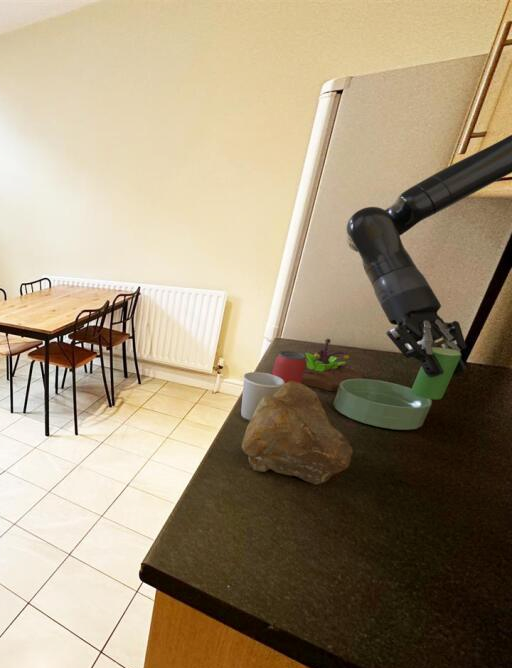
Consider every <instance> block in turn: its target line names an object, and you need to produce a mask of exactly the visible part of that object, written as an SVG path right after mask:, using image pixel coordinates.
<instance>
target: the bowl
mask: <svg viewBox="0 0 512 668" xmlns="http://www.w3.org/2000/svg"><path fill="white" fill-rule="evenodd" d="M411 389H412V387H408V386H405V385H402V384H398V383H394V382H391V381H390V382H389V381H385V380H378V379H371V378H362V379H348V380H345V381H342V382H341V383H340V385H339V388H338V391H337V392H336V395H335V397H334V399H333V400H334V401H333V407H334V409H335V410H337V411H338V413H340V414H342V415H344V416H345V417H348V418H349V419H352V420H354V421H357V422H359V423H363V424H366V425H370V426H373V427H378V428H382V429H390V430H401V431H409V430H417V429H419V428H421V427H423V425H424V422H425V420H426V417H427V415H428V413H429V411H430V409H431V407H432V403H433V401H432V400H433V399H427V398H423V397H419V396H416V395H414V394H412V393H411Z"/></svg>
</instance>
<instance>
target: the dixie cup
mask: <svg viewBox="0 0 512 668" xmlns="http://www.w3.org/2000/svg"><path fill="white" fill-rule="evenodd" d="M242 378H243V383H242V397H241V399H242V400H241V409H240V410H241V411H240V415H241V417H242V418H243V419H245V420H248V421H251V419H252V416H253V414H254V412H255V410H256V408H257V406H258V404H259V403H260V401H261V400H262V398H264V397H266V396H274V395H275V394H276V393H277V392H278V391H279V390H280V389H281V388H282V386H283V385H284V384H285V382H284V380H283V379H281V378H280V377H278V376H275V375H272V373H267V372H261V371H251V372H246V373H244V374H243V376H242Z"/></svg>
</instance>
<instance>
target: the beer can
mask: <svg viewBox="0 0 512 668" xmlns="http://www.w3.org/2000/svg"><path fill="white" fill-rule="evenodd" d="M305 358H307V355H306V354H304V353H302V352H298V351H292V350H282V351H280V352H279V354H278V356H277V357H276V358H275V360H274V365H273V368H272V373H271V374H272V375H275V376H278V377H280V378H281V379H283V380H284V382H285V384H286V383H287V382H290V381H294V382H298V383H301V381H302V378H303V374H304V371H305V367H306V359H305ZM285 384H284V385H285ZM284 385H283V386H284ZM283 386H282V387H283Z"/></svg>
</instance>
